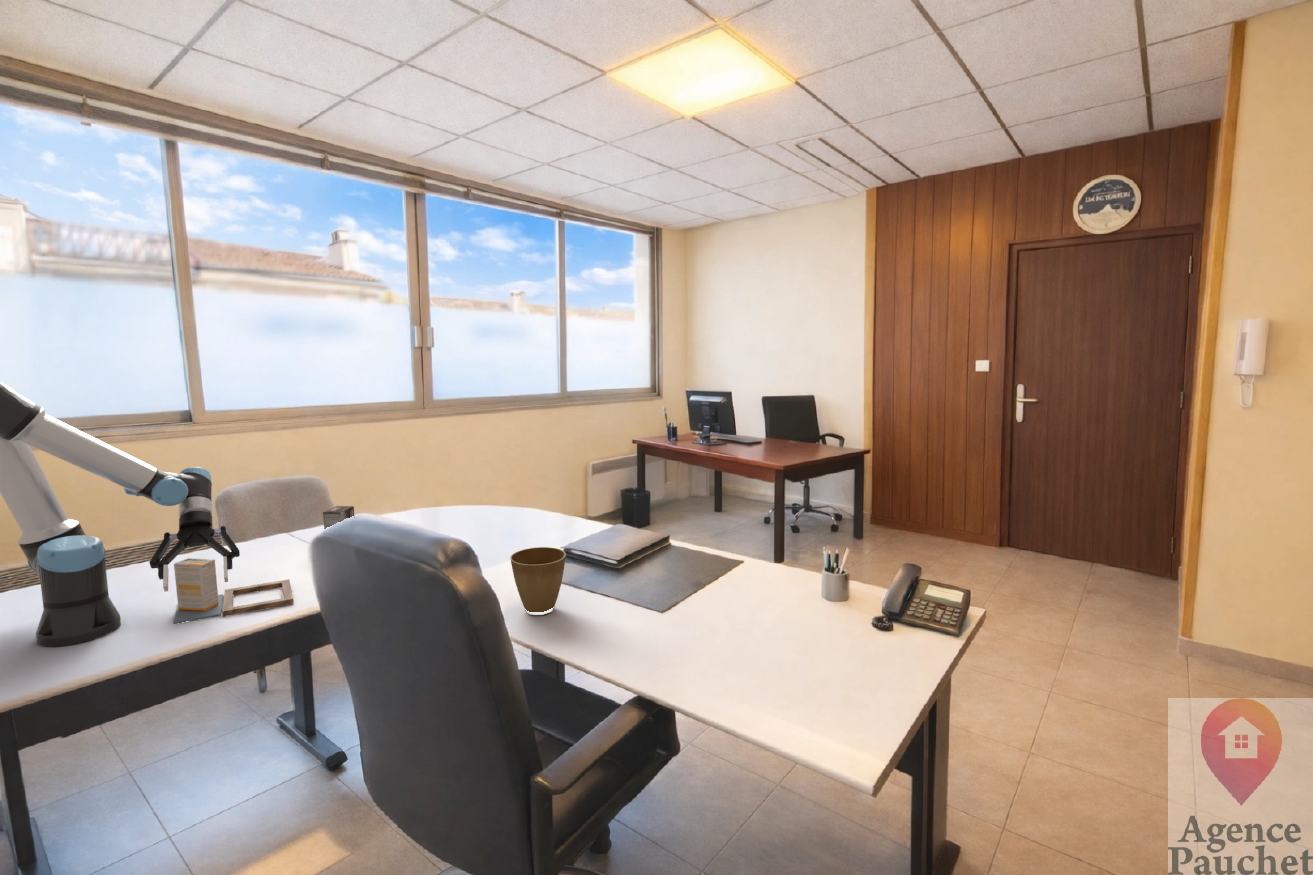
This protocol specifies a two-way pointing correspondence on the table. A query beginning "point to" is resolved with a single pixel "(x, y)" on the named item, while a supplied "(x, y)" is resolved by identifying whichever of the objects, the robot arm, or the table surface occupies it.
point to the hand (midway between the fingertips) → (196, 584)
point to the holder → (287, 600)
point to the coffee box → (337, 515)
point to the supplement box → (196, 584)
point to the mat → (198, 613)
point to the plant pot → (538, 576)
